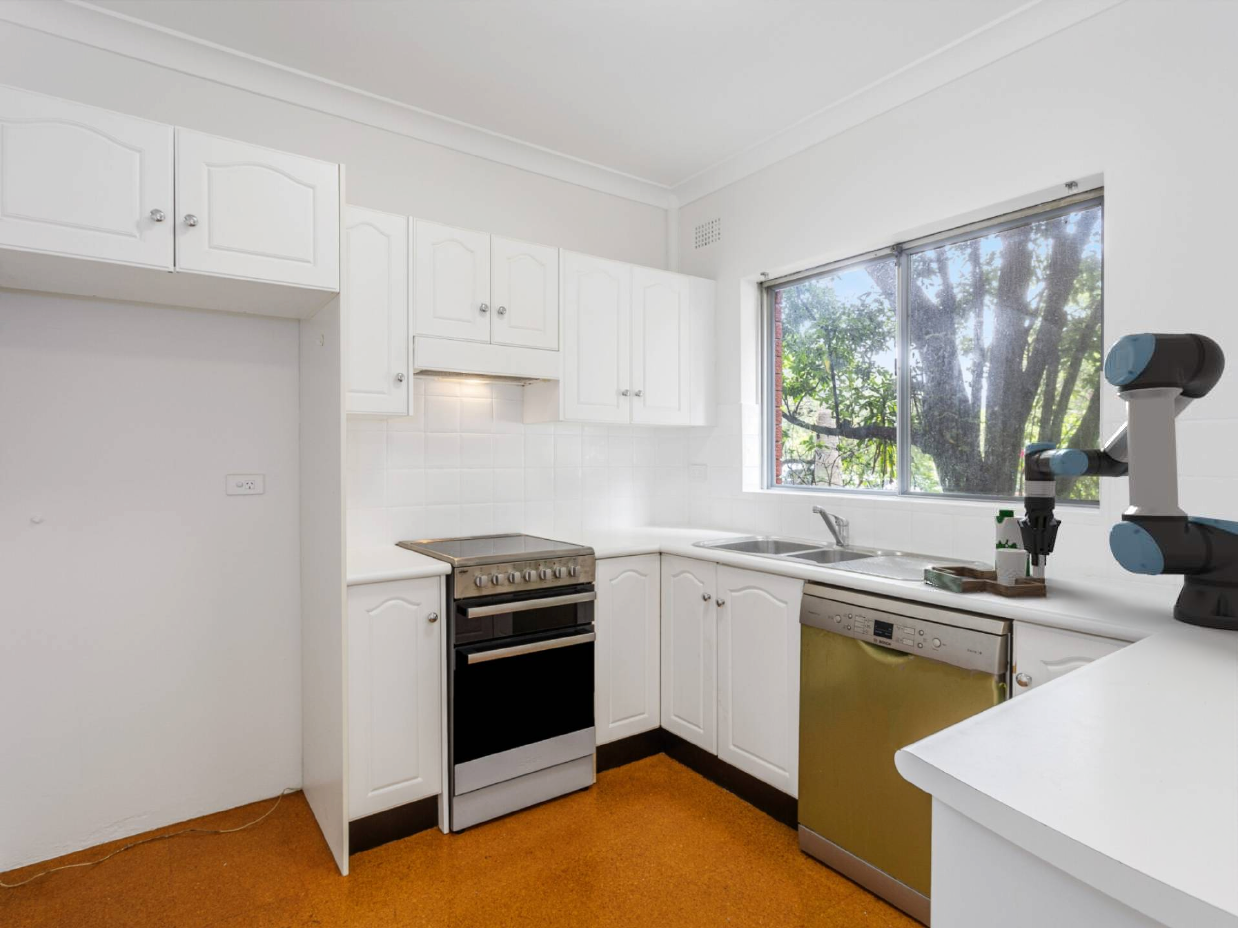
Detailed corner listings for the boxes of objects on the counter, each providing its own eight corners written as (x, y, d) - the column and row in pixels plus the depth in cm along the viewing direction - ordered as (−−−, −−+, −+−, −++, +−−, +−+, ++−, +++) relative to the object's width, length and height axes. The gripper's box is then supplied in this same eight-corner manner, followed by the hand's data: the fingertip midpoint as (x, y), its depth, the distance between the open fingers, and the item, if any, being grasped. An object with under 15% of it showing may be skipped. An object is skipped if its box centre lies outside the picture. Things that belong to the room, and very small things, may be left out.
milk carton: (990, 571, 215) (991, 509, 215) (1019, 571, 215) (1019, 509, 215) (1005, 576, 207) (1006, 511, 206) (1035, 576, 206) (1036, 511, 206)
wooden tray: (1070, 595, 178) (1070, 580, 178) (979, 598, 173) (979, 583, 173) (985, 574, 208) (986, 562, 208) (906, 577, 203) (907, 564, 203)
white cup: (1018, 582, 196) (1019, 548, 196) (1032, 588, 188) (1033, 552, 188) (990, 582, 197) (990, 548, 197) (1003, 587, 189) (1003, 551, 189)
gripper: (1048, 494, 199) (1047, 574, 199) (1009, 495, 196) (1008, 575, 197) (1069, 496, 191) (1068, 579, 192) (1030, 496, 189) (1029, 580, 189)
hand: (1038, 577), depth 194 cm, fingers closed
